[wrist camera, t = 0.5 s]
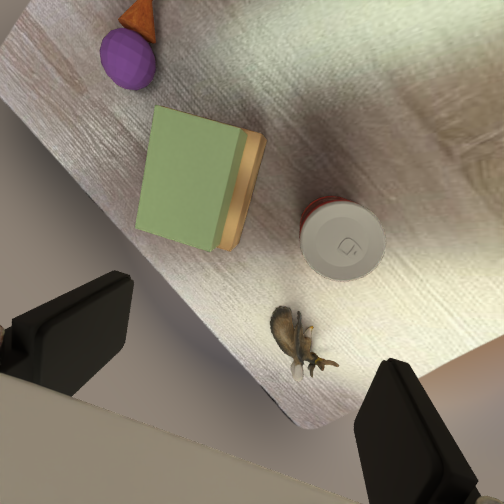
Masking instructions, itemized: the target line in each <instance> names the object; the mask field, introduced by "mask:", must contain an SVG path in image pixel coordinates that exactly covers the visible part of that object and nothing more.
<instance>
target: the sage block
mask: <svg viewBox="0 0 504 504" xmlns="http://www.w3.org/2000/svg"><path fill="white" fill-rule="evenodd" d="M247 136H248V135H247V134H246V133H245V132H244V131H243V130H242V129H240V128H238V127H234V126H230V125H227V124H223V123H220V122H216V121H212V120H209V119H205V118H202V117H198V116H194V115H191V114H187V113H184V112H180V111H176V110H173V109H169V108H166V107H162V106H159V105H155V109H154V115H153V121H152V127H151V133H150V139H149V145H148V152H147V158H146V164H145V170H144V176H143V182H142V189H141V195H140V201H139V207H138V213H137V219H136V225H135V228H136V229H140V230H143V231H146V232H149V233H152V234H155V235H158V236H161V237H164V238H168V239H171V240H174V241H177V242H180V243H183V244H186V245H189V246H193V247H196V248H199V249H202V250H205V251H208V252H211V251H212V250H213V249H215V248H216V247H217V246H218V245H220V242H221V238H222V234H223V230H224V226H225V222H226V218H227V214H228V210H229V207H230V203H231V199H232V195H233V191H234V187H235V183H236V179H237V175H238V171H239V167H240V163H241V159H242V155H243V151H244V147H245V144H246V140H247Z"/></svg>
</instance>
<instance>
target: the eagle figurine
mask: <svg viewBox="0 0 504 504" xmlns="http://www.w3.org/2000/svg"><path fill="white" fill-rule="evenodd" d="M297 314H298V316H297V320H298V323H297V325H296V327H295V329H294V326H293V323H292V315H291V310H290V308H288V309H287V308H286V307H284V308H283V307H281V306H280V307H279V308H276V310H275V312H273V317H271V321H270V326H271V327H270V329H271V332H272V334H273V336H274V339H276V342H277V344H278V345H279V347H280V349H281V350H282V351H283V352H284V353H285V354H287V355H289V356H291V357H292V358H293V359H294V361H293V363H292V364H291V372H292V375H293V378H294V380H295V381H297V382H299V381H301V380H302V379H303V367H302V365H303V364H304V360H305V361H308V362H310V364H309V366H308V369H309V370H310V375H311V377H313V370H314V368H315V365H318V367H319V368H320V370H321V371H323V370H324V365H333V366H336V367H339V364H337V363H336V362H334V361H331V360H325V359H323V358H319V357H318V356H317V355H316V353H314V352H310V346H311V337H312V329H313V328H314V327H313V326H311V327H310V328H308V329H307V330H306V332H305V334H304V335H303V327H302V324H301V313H300V312H299V311H298V313H297Z"/></svg>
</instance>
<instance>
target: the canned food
mask: <svg viewBox="0 0 504 504" xmlns="http://www.w3.org/2000/svg"><path fill="white" fill-rule="evenodd" d="M299 238H300V248H301V251H302V255H303V256H304V258H305V260H306V262H307V263H308V265H309V266H310V267H311V268H312V269H313V270H314V271H315V272H316V273H318V274H319V275H321V276H323V277H324V278H327V279H330V280H334V281H340V282H341V281H353V280H357V279H360V278H362V277H364V276H366V275H368V274H369V273H371V272H372V271H373V270H374V269H375V268H376V267H377V266H378V264H379V263H380V262H381V260H382V258H383V255H384V253H385V248H386V236H385V231H384V228H383V226H382V224H381V222H380V221H379V220H378V218H377V217H376V216H375V214H373V213H372V212H371V211H370V210H369V209H367V208H366V207H364V206H362V205H360V204H358V203H355V202H353V201H350V200H347V199H344V198H341V197H336V196H326V197H322V198H319V199H317V200H315V201H313V202H312V203H311V204H309V206H308V207H307V208H306V209H305V211H304V212H303V214H302V217H301V220H300V237H299Z"/></svg>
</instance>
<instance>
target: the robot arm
mask: <svg viewBox="0 0 504 504" xmlns="http://www.w3.org/2000/svg"><path fill="white" fill-rule="evenodd" d="M133 286H134V281H133V280H131V277H130V275H128V274H125V273H122V272H119V271H115V270H114V271H111V272H109V273H107V274H105V275H103V276H101V277H99V278H97V279H95V280H92V281H90V282H88V283H86V284H84V285H82V286H80V287H78V288H76V289H74V290H72V291H69V292H67V293H65V294H63V295H61V296H59V297H57V298H55V299H53V300H51V301H49V302H47V303H44V304H42V305H40V306H38V307H36V308H34V309H32V310H30V311H28V312H26V313H24V314H22V315H19V316H17V317H15V318H13V319H12V326H11V327H9V328H7V329H4V328H3V327H2V326H1V325H0V504H361V503H359V502H356V501H353V500H351V499H348V498H345V497H342V496H339V495H337V494H335V493H332V492H329V491H327V490H324V489H321V488H319V487H316V486H313V485H311V484H308V483H305V482H302V481H300V480H297V479H294V478H292V477H289V476H286V475H284V474H281V473H278V472H275V471H273V470H270V469H268V468H265V467H262V466H260V465H257V464H254V463H251V462H249V461H246V460H243V459H240V458H238V457H235V456H233V455H230V454H227V453H224V452H222V451H219V450H216V449H213V448H211V447H208V446H205V445H203V444H200V443H197V442H195V441H192V440H189V439H186V438H184V437H181V436H178V435H175V434H172V433H170V432H167V431H164V430H162V429H159V428H156V427H154V426H151V425H148V424H145V423H142V422H139V421H137V420H134V419H131V418H129V417H126V416H123V415H120V414H117V413H115V412H112V411H109V410H106V409H104V408H100V407H98V406H95V405H92V404H90V403H87V402H84V401H81V400H78V399H76V398H73V397H72V396H73V395H74V394H75V393H76V392H77V391H78V390H79V389H80V388H81V387H82V386H83V385H84V384H85V383H86V382H88V381H89V379H91V378H92V377H93V376H94V375H95V374H96V373H97V372H98V371H99V370H100V369H101V368H102V367H103V366H105V365H106V364H107V363H108V362H109V361H110V360H111V359H112V358H113V357H114V356H115V355H116V354H117V353H118V352H119V351H120V350H121V349H122V348H123V346H124V343H125V340H126V333H127V327H128V320H129V313H130V307H131V300H132V293H133ZM354 433H355V438H356V443H357V448H358V452H359V457H360V462H361V466H362V471H363V476H364V480H365V485H366V490H367V494H368V499H369V504H504V502H502V501H500V500H498V499H496V498H493V497H489V496H481V495H480V493H479V492H478V490H477V488H476V484H477V482H478V479H477V478H476V476H475V474H474V472H473V471H472V469H471V467H470V466H469V464H468V462H467V461H466V459H465V457H464V456H463V454H462V452H461V450H460V449H459V447H458V445H457V444H456V442H455V440H454V439H453V437H452V435H451V434H450V432H449V430H448V429H447V427H446V425H445V424H444V422H443V420H442V418H441V417H440V415H439V413H438V412H437V410H436V408H435V407H434V405H433V403H432V402H431V400H430V398H429V397H428V395H427V393H426V391H425V390H424V388H423V387H422V385H421V383H420V382H419V380H418V378H417V376H416V375H415V373H414V371H413V370H412V368H411V366H410V365H409V364H408V363H406V362H403V361H399V360H396V359H393V358H389V359H388V360H387V361H386V360H383V361H382V362H381V364H380V366H379V368H378V370H377V372H376V375H375V377H374V379H373V381H372V383H371V386H370V388H369V390H368V392H367V394H366V397H365V399H364V401H363V403H362V405H361V408H360V410H359V412H358V414H357V416H356V419H355V422H354Z"/></svg>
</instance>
